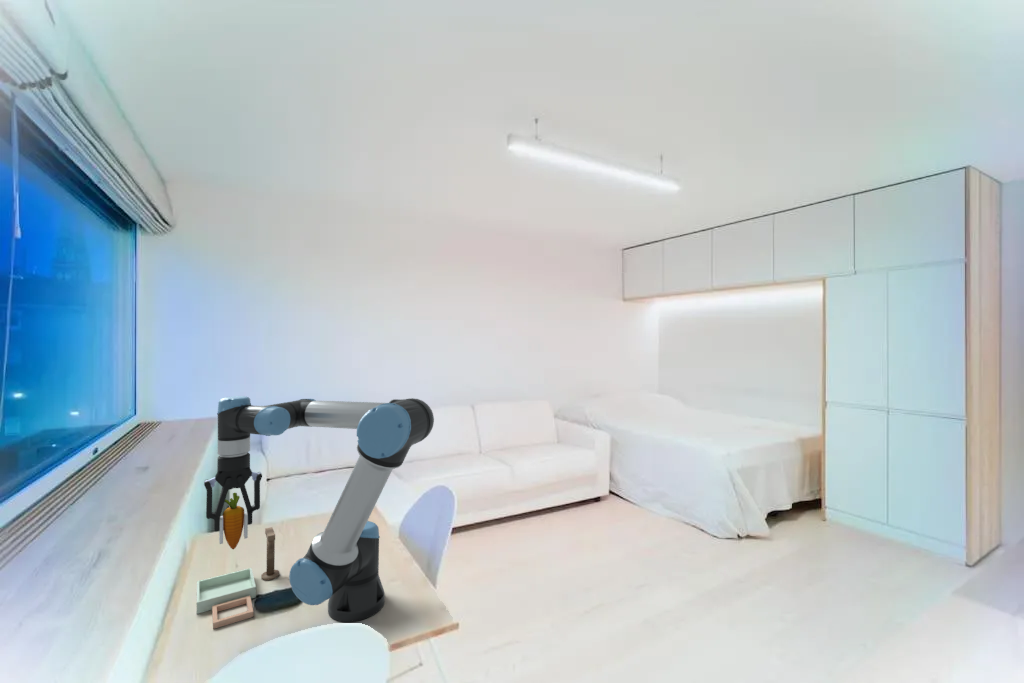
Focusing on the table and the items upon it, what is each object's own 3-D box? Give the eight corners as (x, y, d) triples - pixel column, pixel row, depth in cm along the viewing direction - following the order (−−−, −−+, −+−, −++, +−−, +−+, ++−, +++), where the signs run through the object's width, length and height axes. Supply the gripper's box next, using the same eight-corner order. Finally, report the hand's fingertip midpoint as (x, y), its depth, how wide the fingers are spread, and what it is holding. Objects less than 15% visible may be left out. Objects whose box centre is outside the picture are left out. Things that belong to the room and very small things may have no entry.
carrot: (234, 554, 118) (234, 497, 118) (218, 552, 119) (218, 496, 119) (248, 545, 123) (248, 491, 123) (232, 544, 124) (233, 490, 124)
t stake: (280, 577, 140) (280, 534, 140) (262, 582, 137) (262, 538, 137) (277, 567, 146) (277, 526, 146) (259, 571, 143) (260, 529, 143)
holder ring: (253, 616, 120) (253, 611, 120) (213, 628, 115) (213, 623, 115) (250, 600, 127) (250, 595, 127) (212, 611, 122) (212, 605, 122)
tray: (255, 597, 129) (255, 586, 129) (196, 614, 121) (196, 602, 121) (251, 577, 140) (251, 567, 140) (196, 591, 132) (196, 581, 132)
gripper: (269, 446, 129) (269, 526, 129) (193, 455, 119) (193, 542, 119) (273, 452, 123) (272, 536, 123) (193, 461, 113) (192, 553, 113)
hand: (233, 539), depth 121 cm, fingers closed on carrot, 5 cm apart
